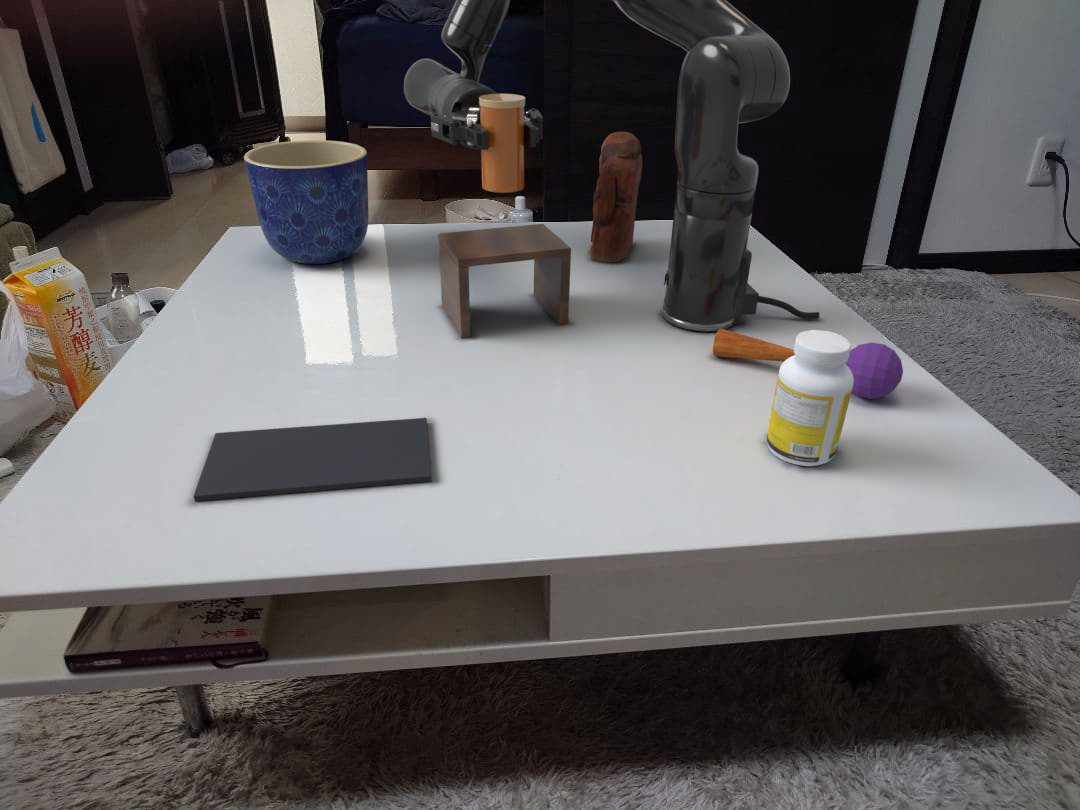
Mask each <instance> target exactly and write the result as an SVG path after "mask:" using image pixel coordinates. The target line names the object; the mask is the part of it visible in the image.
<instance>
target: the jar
mask: <svg viewBox="0 0 1080 810" xmlns="http://www.w3.org/2000/svg"><path fill="white" fill-rule="evenodd" d="M479 105H480V123H481V126H483V127H485V128H486V129H487V130H488V142H489V148H488V150H481V149H480V161H481V162H480V163H481V164H480V165H481V166H480V167H481V189H483V190H484V191H488V192H492V193H499V194H501V193H502V194H505V193H506V194H507V193H516V192H519V191H522V190H524V188H525V144H524V119H525V116H526V110H525V106H526V97H525V96H524V95H520V94H514V93H497V94H488V95H482V96H480V97H479Z"/></svg>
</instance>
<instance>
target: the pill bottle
mask: <svg viewBox="0 0 1080 810" xmlns="http://www.w3.org/2000/svg"><path fill="white" fill-rule="evenodd" d="M793 350H794V353H795V355H794V356H791V357H790V358H788V359H786V360H785V361H784V362H782V363H781V365H780V367H779V369H778V370H779V371H778V375H777V380H776V385H775V391H774V395H773V401H772V406H771V411H770V417H769V421H768V428H767V431H766V439H765V440H766V445H767V447H768V449H769V451H770V452H771V453H772V454H773V455H774V456H775V457H777V458H778V459H780V460H782V461H784V462H786V463H789V464H793V465H797V466H803V467H816V466H821V465H824V464H827V463H828V462H830V461H831V460H833V459H834V457H835V456H836V454H837V451H838V448H839V443H840V439H841V435H842V431H843V428H844V423H845V420H846V416H847V412H848V409H849V403H850V399H851V396H852V388H853V383H854V378H853V374H852V372H851V370H850V369H849V367H848V366H847V365H846V364H845V363H846V362H847V361H848V358H849V354H850V350H852V344H851V342H850V340H849V339H848V338H846V337H845V336H843V335H841V334H838V333H836V332H833V331H828V330H821V329H809V330H804V331H801V332H799V333H798V334H797V335H796V337H795V341H794V346H793Z"/></svg>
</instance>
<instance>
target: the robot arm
mask: <svg viewBox="0 0 1080 810" xmlns="http://www.w3.org/2000/svg"><path fill="white" fill-rule="evenodd" d="M611 1H612V2H613V3H614V4H615V6H616V7H617V8H618V10H619V11H620V12H622V13H623V14H624V15H625V16H626V17H627V18H628V19H630V20H631V21H633V22H634V23H635V24H637V25H639V26H640V27H642V28H644V29H645V30H648V31H649V32H652V33H653V34H655V35H657V36H659V37H660V38H663V39H664V40H666V41H669V42H670V43H672V44H674V45H676V46H678V47H680V48H681V49H683V50H684V51H685V52H687V53H686V55H685V57H684V58H683V62H682V63H681V64H682V65H681V69H680V71H679V76H678V83H677V93H676V109H675V112H676V113H675V128H674V129H675V131H674V155H675V161H676V165H677V179H676V180H677V182H676V188H675V198H674V199H675V200H674V208H673V218H672V219H673V220H672V227H671V236H670V237H671V238H670V244H669V253H668V254H669V257H668V265H667V270H666V273H665V274H664V278H663V279H664V281H663V286H665V292H664V300H663V305H662V312H661V313H662V317H663V319H664V320H665V321H667V323H670V324H672V325H674V326H676V327H678V328H681V329H685V330H689V331H696V332H717V331H718V330H719V329H720V328H721V329H725V330H727V329H729V328H731V327H733V326H735V325H736V326H737V325H741V324H742V320H743V316H751V315H752V316H753V315H756V313H757V308H758V303H760V304H765V305H770V306H774V307H777V308H780V309H782V310H783V309H784V310H785V311H787V312H788V313H790V314H791V315H793V316H794V317H796V318H799V319H803V320H817V319H819V318H820V314H821V313H820V312H819V311H814V312H813V311H812V312H805V311H801V310H799V309H797V308H796V307H794V306H793V305H791V304H789V303H787V302H785V301H782V300H780V299H776V298H772V297H769V296H768V297H767V296H762V295H760V293H759V292H758V291H757V290H756V289H754V287H752V285H750V283H748V282H749V276H750V272H751V271H750V270H751V263H752V258H753V252H751V250H750V249H749V248H747V247H748V240H749V234H750V229H751V221H752V215H753V210H754V203H755V195H756V189H757V185H758V179H759V171H760V169H759V164H758V162H757V161H756V160H755V159H754V158H752V157H751V156H748V155H746V154H743V153H741V152H740V151H739V148H738V134H739V133H738V132H739V124H745V123H751V122H756V121H760V120H763V119H765V118H768V117H770V116H772V115H773V114H775V113H777V111H778V110H780V109H781V107H782V106H784V104H785V101H786V100H787V98H788V95H789V92H790V87H791V70H790V66H789V62H788V60H787V57H786V54H785V52H783V50H782V48H781V46H780V45H779V43H777V41H776V40H775V39H773V38H772V37H771V36H770V35H769V34H768V33H766V31H764V30H763V29H762V28H760V27H759V26H758V25H757V24H755V23H754V22H753V21H752V20H750V19H749V18H748V17H747V16H745V15H744V13H742V12H740V11H739V10H738V9H737V8H736V7H734V6H733V5H732V4H731V3H730V2H728V1H727V0H611ZM511 2H512V0H455V2H454V5H453V7H452V8H451V11H450V13H449V15H448V17H447V19H446V21H445V24H444V25H443V28H442V31H441V35H440V38H441V39H440V40H441V41H442V43H443V44H444V45H445V47H447V48H448V49H449V50H450V51H451V52H452V53H453V54H454V55H455V56H457V58H458V59H459V60H460V62H461V71H460V73H457V72H455V71H453V70H452V69H450V68H449V67H446V66H445V65H443V64H441V63H439V62H438V61H436V60H434V59H431V58H421V59H418V60H417V61H415V62H414V63H412V65H411V66H410V67H409V68H408V69H407V72H406V74H405V76H404V79H403V94H404V97H405V100H406V101H407V103H408V104H409V105H410V106H412V107H413V108H414V109H416V110H418V111H421V112H422V113H424V114H426V115H428V116H430V131H431V137H432V138H435V139H437V140H440V141H442V142H445V143H446V144H449V145H452V146H458V145H463V146H464V147H466V148H469V149H473V150H480V151H481V150H488V148H489V142H488V130H487V129H486V128H485V127H483V126H481V123H480V105H479V97H480V96H482V95H488V94H498V93H497V92H496V91H495V90H493V89H492V88H490V87H488V86H486V85H484V84H483V83H480V82H481V78H482V75H483V74H482V73H483V70H484V67H485V64H486V60H487V57H488V54H489V52H490V50H491V48H492V46H493V44H494V42H495V40H496V38H497V36H498V34H499V32H500V30H501V28H502V25H503V24H504V22H505V20H506V18H507V15H508V12H509V9H510V5H511ZM543 122H544V117H543V115H542V113H541V112H540V111H539V109H536V108H531V109H528V111H525V119H524V146H527V147H528V148H536V147H537V144H538V143H539V142H540V140H543V135H544V134H543Z"/></svg>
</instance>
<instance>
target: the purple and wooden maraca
mask: <svg viewBox="0 0 1080 810" xmlns="http://www.w3.org/2000/svg"><path fill="white" fill-rule="evenodd" d="M712 354H713V356H714V357H719V358H720V357H722V358H732V359H733V358H734V359H743V360H744V359H745V360H757V361H771V362H782V363H783V362H784V361H785V360H786V359H788V358H790V357H791V356H794V355H795V353H794V348H790V347H787V346H784V345H783V346H782V345H779V344H776V343H772V342H768V341H766V340H763V339H759V338H755V337H753V336H749V335H745V334H742V333H739V332H735V331H732V330H729V329H721V328H720V329H719V330H718V331H716V333H715V336H714V338H713V344H712ZM845 364H846V365H847V366H848V367H849V369H850V370H851V372H852V374H853V378H854V383H853V388H852V392H851V394H854V395H855V396H857V397H858V398H864V399H868V400H873V399H878V398H879V399H880V398H884V397H885V396H887V395H889V394H891V393H893V392H894V391H895V390H896V388H897V387H898V385H899V384H900V383H901V381H902V379H903V374H904V368H903V363H902V359H901V358H900V356H899V355H898V353H897V352H896V351H895V350H894V349H893V348H891V347H889V346H887V345H886V344H884V343H879V342H872V341H871V342H866V343H861V344H858V345H856V346H855V347H853V348H851V350H850V354H849V358H848V361H847V362H846V363H845Z"/></svg>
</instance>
